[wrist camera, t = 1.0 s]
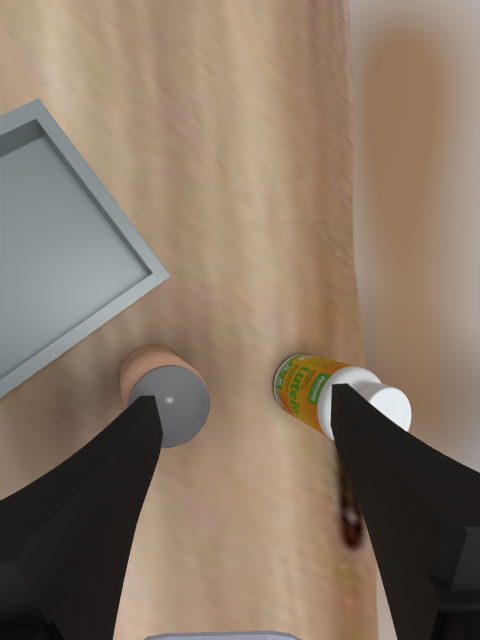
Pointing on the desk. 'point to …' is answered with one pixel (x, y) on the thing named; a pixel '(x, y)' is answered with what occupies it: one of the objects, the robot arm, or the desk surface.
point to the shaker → (166, 391)
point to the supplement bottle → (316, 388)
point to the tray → (58, 247)
